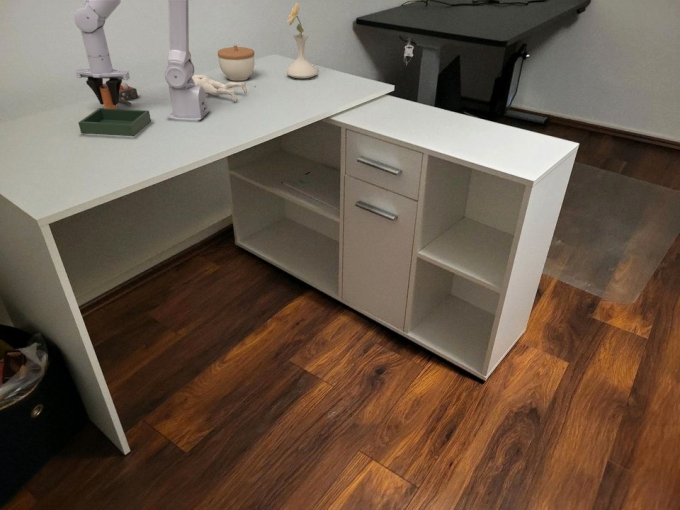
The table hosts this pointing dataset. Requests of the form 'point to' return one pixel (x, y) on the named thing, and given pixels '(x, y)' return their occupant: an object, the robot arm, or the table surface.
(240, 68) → the dishware bowl
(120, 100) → the walkie-talkie
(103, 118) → the basket
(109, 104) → the tube
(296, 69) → the flower in vase
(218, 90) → the superhero figure
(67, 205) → the table surface
